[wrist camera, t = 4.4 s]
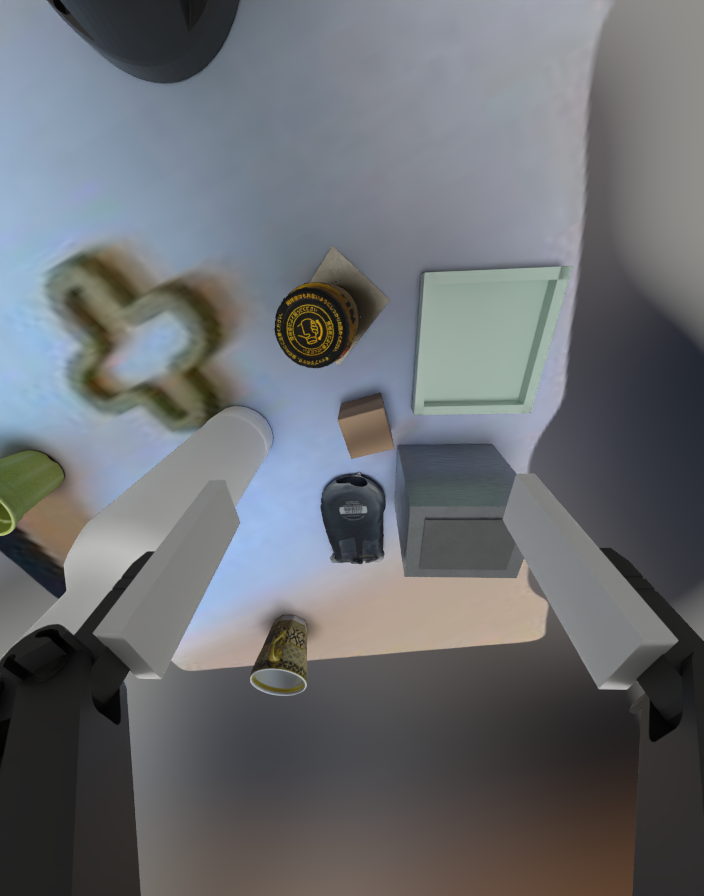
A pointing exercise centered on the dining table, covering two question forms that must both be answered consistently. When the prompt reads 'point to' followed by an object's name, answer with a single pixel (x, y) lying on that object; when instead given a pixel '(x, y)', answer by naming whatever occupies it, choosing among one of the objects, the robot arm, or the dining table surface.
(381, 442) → the walnut block
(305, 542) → the dining table surface
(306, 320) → the condiment
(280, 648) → the ceramic cup
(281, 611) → the dining table surface
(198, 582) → the robot arm
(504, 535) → the unit
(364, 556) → the electronic device
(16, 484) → the plant pot
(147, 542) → the bottle
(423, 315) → the tray
